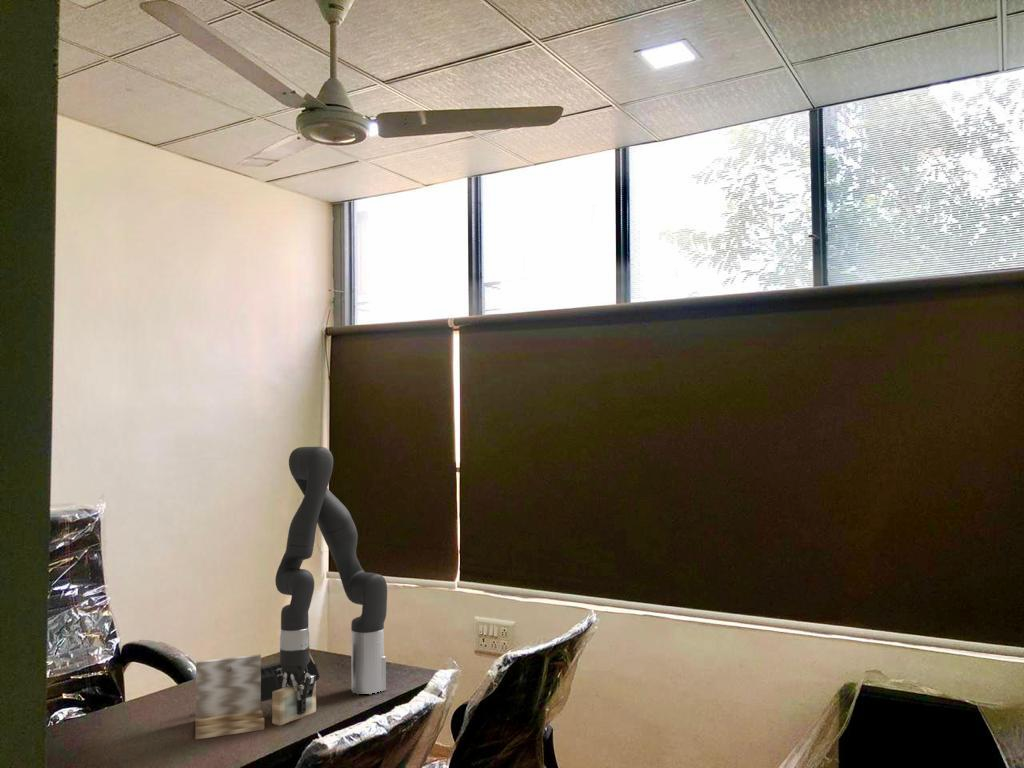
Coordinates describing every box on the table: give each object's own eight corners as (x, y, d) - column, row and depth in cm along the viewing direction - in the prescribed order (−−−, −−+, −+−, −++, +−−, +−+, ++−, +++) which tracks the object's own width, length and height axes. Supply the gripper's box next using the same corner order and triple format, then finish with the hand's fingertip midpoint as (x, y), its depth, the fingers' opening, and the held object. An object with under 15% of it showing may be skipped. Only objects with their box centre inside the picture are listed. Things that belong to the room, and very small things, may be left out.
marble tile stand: (260, 711, 211) (260, 654, 212) (264, 729, 198) (264, 668, 199) (195, 720, 205) (196, 661, 206) (195, 739, 192) (196, 676, 193)
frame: (307, 709, 212) (307, 679, 213) (316, 711, 210) (316, 681, 211) (272, 723, 202) (272, 691, 203) (280, 726, 200) (280, 693, 201)
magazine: (206, 680, 210) (306, 628, 229) (202, 678, 212) (301, 626, 232) (224, 739, 212) (322, 682, 231) (220, 736, 214) (316, 680, 234)
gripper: (265, 645, 208) (264, 711, 207) (302, 652, 201) (302, 721, 199) (287, 638, 215) (287, 703, 213) (324, 645, 207) (324, 712, 206)
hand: (294, 711), depth 206 cm, fingers open, 4 cm apart
